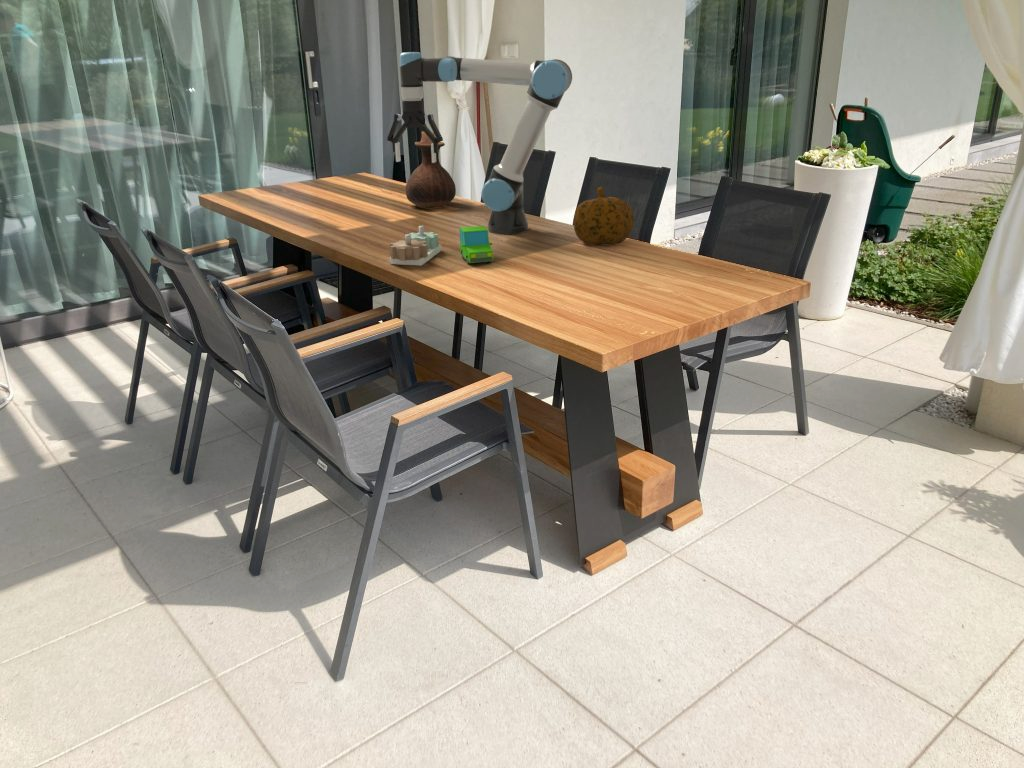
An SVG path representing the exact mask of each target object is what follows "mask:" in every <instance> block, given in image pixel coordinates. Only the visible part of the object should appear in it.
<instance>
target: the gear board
mask: <svg viewBox="0 0 1024 768" xmlns="http://www.w3.org/2000/svg"><path fill="white" fill-rule="evenodd" d="M424 232H425V226H424V225H419V226H418V233H419V236H424ZM441 251H442V245H441V244H438V246H437V247H436V248H435V249H427V242H425V241H418V240H411V235H410V234H409V233H408V234H404V239H400V240H398V241H395V242H390V243H389V253H390V257H389V264H390V265H391V264H392V265H404V266H405V265H407V266H420V267H421V266H423V265H425V264H426V263H427V262H428V261H430V260H431V259H433V257H435V256H436V255H438V253H440V252H441Z"/></svg>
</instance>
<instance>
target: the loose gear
mask: <svg viewBox="0 0 1024 768" xmlns="http://www.w3.org/2000/svg"><path fill="white" fill-rule="evenodd" d="M408 234H410V235H411V240H418V241H425V242H427V249H435V248H436V247H437V246H438V245H439V235H438V233H435V232H433V231H429V232H425V231H424V236H419V232H409V233H408Z"/></svg>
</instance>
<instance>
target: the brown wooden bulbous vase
mask: <svg viewBox="0 0 1024 768" xmlns="http://www.w3.org/2000/svg"><path fill="white" fill-rule="evenodd" d="M431 132H432V133H433V135H434V136H435V134H434V132H433V131H431ZM435 137H436V136H435ZM432 143H433V142H432V141H431V140H430V138H429V137H428V136H427V135H426V133H425V132H424V131H423V130H422V131H421V139H420V141H415V142H414V145H415V146H416V147H417V148H419V149H420V151H421V157H422V158H421V159H422V160H421V164H420V165H419V166H417V167H416V168H415V169H414V170H413V172H412V173H410V176H409V178H408V180H407V182H406V184H405V195H406V198H407V200H408V202H410V203H411V204H413V205H415V206H417V207H418V208H421V209H426V208H427V209H441V208H442V209H443V208H446V207H447V206H448V205H449V204H450V203H452V201H454V199H455V197H456V193H457V192H456V190H457V189H456V184H455V181H454V179H453V178H452V176H451V174H450V173H449V172H448V171H447V169H446V168H444V166H442V164H441V163H440V159H439V158H440V156H439V155H440V154H439V153H440V149H441V148H442V147H445V145H446V144H445V142H444V141H441V142H439V143H438V153H436V162H435V163H432V155H431V144H432Z"/></svg>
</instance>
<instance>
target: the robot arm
mask: <svg viewBox="0 0 1024 768" xmlns="http://www.w3.org/2000/svg"><path fill="white" fill-rule="evenodd" d="M399 71H400V73H399V74H400V87H401V99H402V101H401V105H402V107H401V108H402V114H400V113H396V114H394V116H393V122H392V125H391V126H390V127H391V128H390V130H389V133H388V135H387V138H386V140H387V141H388V142H390V143H392V152H393V153H394V154H395V162H396V163H398V162H399V163H400V162H401V161H402V160H401V142H399V140H400V138H401V137H402V135H403V134H405V133H404V132H406V130H407V129H408V128H410V129H411V128H416V129H418V128H420V129H421V130H422V132H423V131H424V132H425V133H426V135H427V136H428V137H429V138H430V140H431V141H432V142H433V143H432V144H431V155H432V163H435V162H436V153H438V143H439V142H444V139H443V136H442V134H441V132H440V130H439V128H438V126H437V123H436V122H435V119H434V115H433V114H432V113H430V114H425V103H424V100H423V99H424V85H423V84H424V83H425V82H426V83H427V82H434V83H435V82H437V83H441V82H443V83H448V82H455V81H465V82H475V83H476V82H477V83H478V82H479V83H489V84H502V85H513V86H527V87H528V89H527V91H526V95H527V96H526V97H527V102H526V104H525V107H524V109H523V111H522V113H521V116H520V118H519V120H518V122H517V125H516V127H515V129H514V131H513V134H512V136H511V139H510V140H509V142H508V145H507V147H506V148H505V149H506V150H505V152H504V154H503V156H502V159H501V161H500V163H498V164H496V165H494V166H493V168H492V170H491V172H490V175H489V177H488V179H487V181H486V182H485V183H484V184H483V186H482V189H481V199H482V202H483V203H484V205H485V207H486V208H488V209H489V210H492V211H491V213H490V216H489V220H488V223H487V227H488V229H487V230H488V232H490V233H492V234H493V233H494V234H497V235H498V234H499V235H514V234H521V233H525V232H527V231H529V223H528V219H527V216H526V214H525V210H524V172H525V169H526V166H527V164H528V161H529V160H530V157H531V156H532V153H533V151H534V149H535V147H536V144H537V142H538V141H539V138H540V136H541V133H542V132H543V129H544V127H545V125H546V123H547V120H548V118H549V116H550V114H551V112H552V111H554V110H556V109H558V108H559V106H560V104H561V101H562V98H563V96H564V94H565V92H567V90H568V89H569V88H570V86H571V84H572V81H573V73H572V70H571V68H570V66H569V64H567V62H565V61H563V60H561V59H557V58H556V59H548V60H534V61H533V62H523V61H519V62H518V61H508V60H507V61H506V60H493V59H480V58H469V57H468V58H466V57H456V56H445V57H438V58H435V57H433V58H424V57H422V53H421V52H419V51H418V52H417V51H412V52H411V51H408V52H407V51H406V52H401V53H400V55H399ZM401 120H403V124H402V125H401V127H400V128H399V130H398V131H397V129H398V127H399V124H400V121H401ZM425 120H426V121H427V122H428V124H429V126H430V128H431V130H432V131H431V130H430V128H429V127H428V125H427V124H426V123H425V122H424V121H425ZM396 131H397V133H396ZM432 132H434V135H435V136H434V135H433V133H432Z"/></svg>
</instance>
